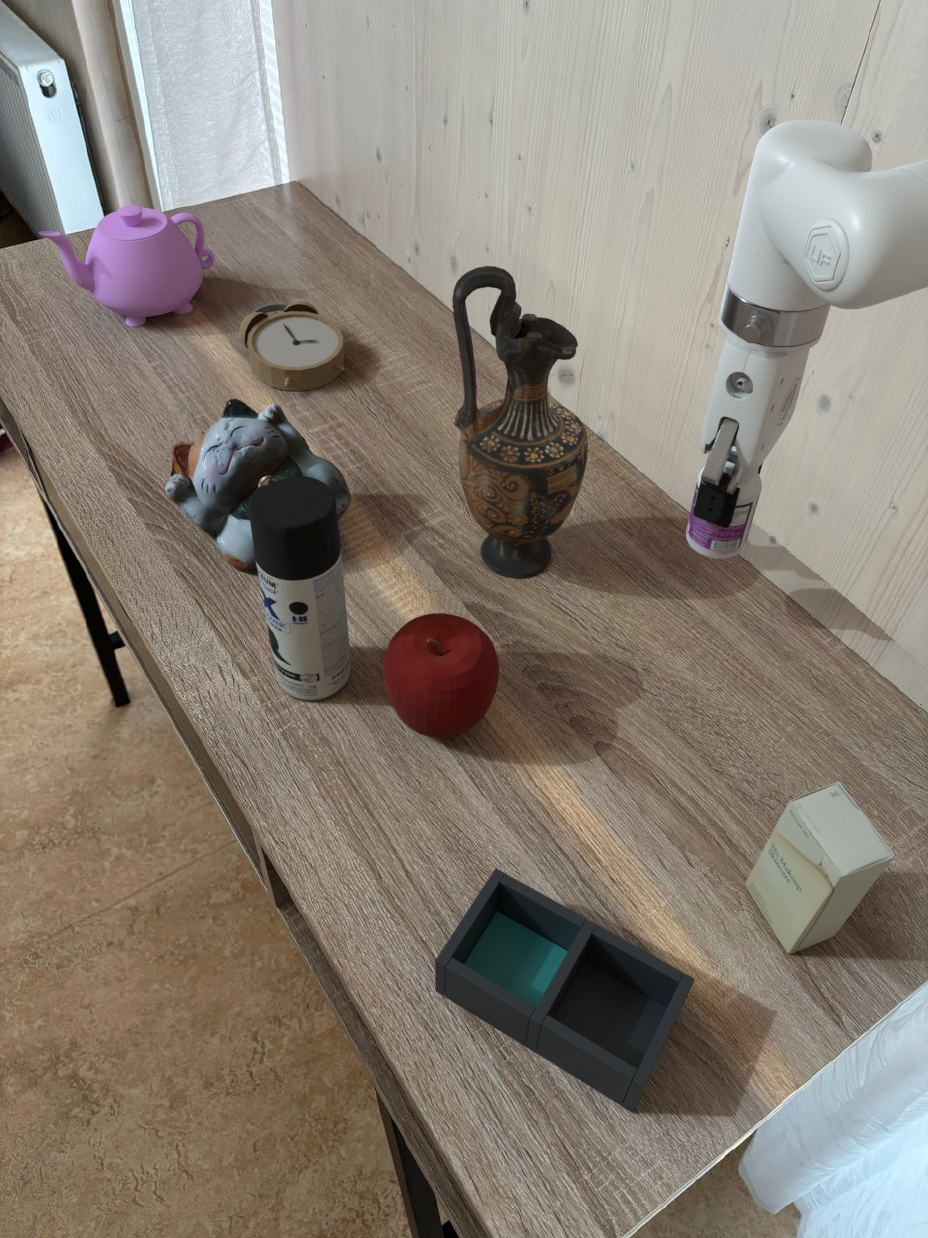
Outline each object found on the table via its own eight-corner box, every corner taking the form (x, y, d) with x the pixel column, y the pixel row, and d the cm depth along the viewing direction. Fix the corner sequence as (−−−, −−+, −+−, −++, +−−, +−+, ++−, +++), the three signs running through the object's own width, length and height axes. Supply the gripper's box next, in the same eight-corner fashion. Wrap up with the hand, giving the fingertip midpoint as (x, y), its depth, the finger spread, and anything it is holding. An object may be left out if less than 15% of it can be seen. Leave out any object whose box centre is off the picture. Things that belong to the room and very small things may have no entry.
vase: (574, 595, 97) (615, 314, 74) (445, 589, 97) (447, 307, 75) (572, 514, 105) (608, 237, 82) (452, 508, 105) (456, 231, 83)
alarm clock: (269, 382, 114) (220, 298, 121) (272, 413, 118) (224, 331, 125) (360, 356, 118) (308, 276, 124) (359, 387, 122) (309, 308, 128)
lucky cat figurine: (245, 600, 95) (157, 481, 88) (215, 562, 105) (135, 452, 98) (373, 509, 98) (299, 386, 90) (333, 480, 108) (263, 368, 100)
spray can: (267, 657, 91) (234, 485, 76) (339, 635, 93) (321, 464, 78) (288, 712, 87) (258, 542, 72) (363, 688, 89) (349, 518, 74)
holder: (681, 1008, 70) (695, 978, 67) (632, 1113, 66) (644, 1087, 62) (492, 901, 75) (495, 867, 72) (434, 991, 71) (435, 960, 67)
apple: (473, 660, 91) (476, 583, 84) (513, 743, 85) (520, 667, 78) (372, 688, 89) (366, 611, 81) (406, 775, 83) (403, 700, 75)
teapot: (82, 353, 122) (53, 256, 113) (51, 298, 130) (21, 203, 121) (238, 311, 129) (223, 216, 120) (199, 261, 137) (182, 169, 128)
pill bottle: (701, 513, 93) (721, 426, 86) (754, 536, 91) (780, 449, 84) (673, 545, 90) (692, 458, 83) (728, 570, 88) (752, 482, 81)
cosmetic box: (742, 884, 77) (783, 798, 68) (791, 865, 78) (838, 777, 69) (789, 959, 73) (840, 878, 64) (841, 937, 74) (897, 855, 65)
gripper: (784, 380, 67) (729, 575, 81) (859, 273, 77) (799, 462, 91) (680, 347, 70) (643, 542, 83) (765, 248, 80) (720, 435, 93)
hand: (725, 498), depth 87 cm, fingers closed on pill bottle, 5 cm apart
